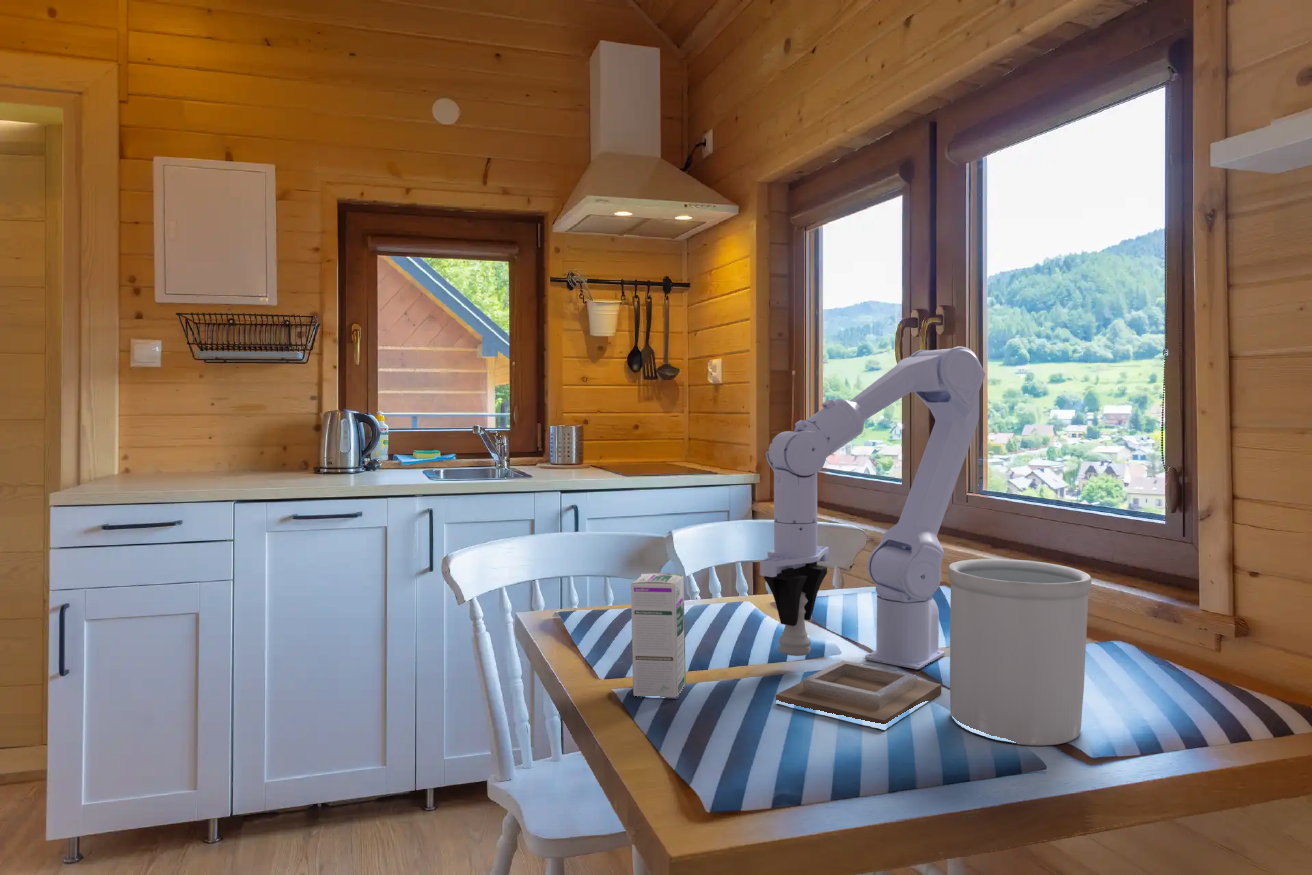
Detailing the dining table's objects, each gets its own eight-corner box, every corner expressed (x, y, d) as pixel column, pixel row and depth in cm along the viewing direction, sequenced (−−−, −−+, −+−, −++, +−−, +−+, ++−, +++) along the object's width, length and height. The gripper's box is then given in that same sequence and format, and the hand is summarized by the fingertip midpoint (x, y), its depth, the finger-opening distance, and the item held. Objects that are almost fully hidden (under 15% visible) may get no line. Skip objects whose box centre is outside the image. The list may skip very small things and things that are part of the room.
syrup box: (678, 700, 110) (677, 582, 110) (631, 697, 111) (630, 580, 111) (686, 685, 116) (685, 573, 115) (641, 683, 117) (640, 571, 116)
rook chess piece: (814, 649, 123) (815, 591, 123) (807, 658, 119) (809, 597, 118) (781, 645, 124) (783, 588, 124) (774, 654, 120) (775, 594, 120)
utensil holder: (1033, 697, 111) (1034, 555, 110) (1119, 742, 96) (1122, 578, 95) (922, 706, 108) (923, 560, 107) (995, 754, 93) (997, 586, 92)
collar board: (839, 672, 121) (839, 652, 121) (941, 693, 112) (941, 672, 112) (775, 704, 109) (775, 682, 108) (884, 730, 100) (884, 706, 100)
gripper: (797, 513, 129) (797, 607, 130) (740, 524, 118) (740, 627, 118) (842, 516, 124) (842, 614, 125) (786, 529, 113) (787, 636, 114)
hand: (795, 621), depth 121 cm, fingers closed on rook chess piece, 3 cm apart
